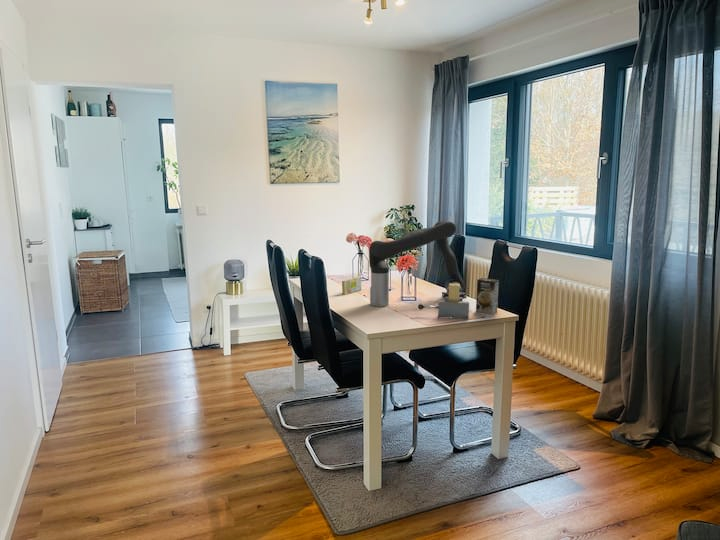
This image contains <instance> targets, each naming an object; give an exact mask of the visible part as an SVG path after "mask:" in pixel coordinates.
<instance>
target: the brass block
mask: <svg viewBox="0 0 720 540" xmlns="http://www.w3.org/2000/svg"><path fill="white" fill-rule="evenodd" d="M459 292H460V284H453V283H449V301H459Z"/></svg>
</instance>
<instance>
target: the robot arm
mask: <svg viewBox="0 0 720 540" xmlns="http://www.w3.org/2000/svg"><path fill="white" fill-rule="evenodd" d="M456 230H457V226H456V224H455V223H454V222H453V221H452V220H442V221H438V222H436V223H434V225H433V226H431V227H424V228H418V229H414V230H410V231H408V232H406V233H404V234H403V235H402V236H400V237H399V238H397V239H394V240H389V241H383V240H374V241H373V242H371V244H370V245H369V249H368V260H369V261H368V262H369V267H370V288H369V302H370V304H369V306H371V307H372V306H374V307H387V306H390V305H389V304H390V303H389V302H390V300H389V299H390V297H389V296H390V295H389V294H390V290H389V289H390V285H389V284H390V267H389V266H388V264H387V263H386V260H388V259H390V258H392V257H395V256H396V255H399V254H401V253H405V252H409V251H411V250H414V249H418V248H421V247H423V246H426V245H428V244H431V243H433V242H435V241H436V242H437V244H438V248H439V250H440V253H441V256H442V260H443V266H444V270H445V274H446V275H447V276H449V277H450V276H451V277H452V276H453V277H455V278H453V279H448V280H446V281H445V283H444V287H445V290H446V292H444V291H442V292H441V297H442V298H444V299H446V297H449V283H453V284H460V292H459V297H462V300H463V299H464V300H465V299H467V298H468V297H467V296H468V295H467V293H468V292H463V291H464V289H465V287H466V285H465V282H464V279H463V278H462V276H461V273H460V271H459V266H458V261H457V258H456V255H455V253H454V252H453V250H452V249H451V247H450V244H449V241H448V238H451V237H452V236H454V235H455V234H456Z"/></svg>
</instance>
